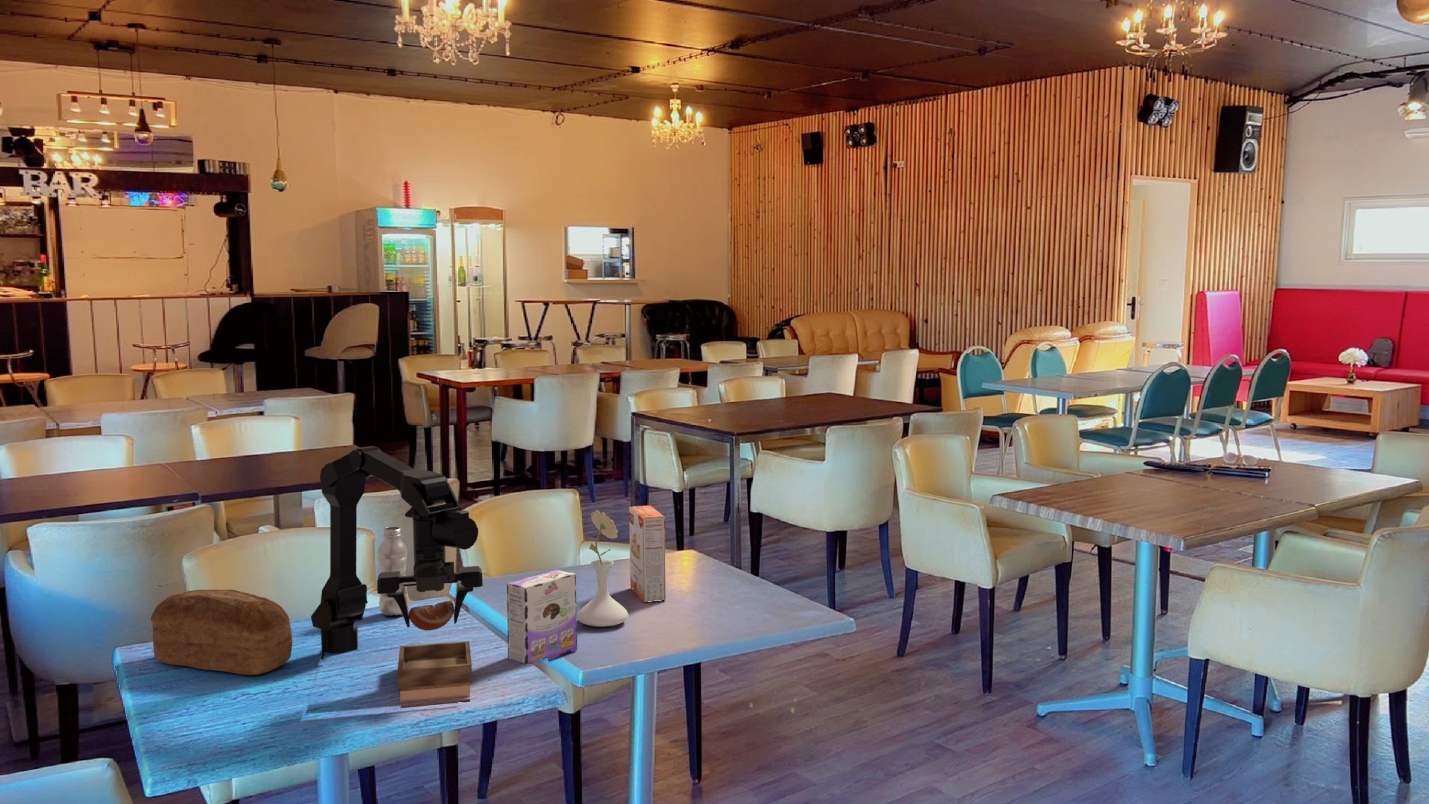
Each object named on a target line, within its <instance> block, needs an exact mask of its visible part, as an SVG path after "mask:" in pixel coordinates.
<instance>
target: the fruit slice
mask: <svg viewBox="0 0 1429 804" xmlns="http://www.w3.org/2000/svg"><path fill="white" fill-rule="evenodd" d="M454 606H455V605H454V603H453V600H452V599H451V600H446V601H442V602H437V603H436V604H434V605H433V604H426V605H422V606H421V605H419V606H414V607H411V608H409V610H408V611H409V618H410V622H411V624H412V625H413V626H414V627H416V628H417V629H419V630H422V631H435V630H438V629H440V628H442V627H444V626H446V625H447V624H448V622H450V620H452V618H453V617H454Z"/></svg>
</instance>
